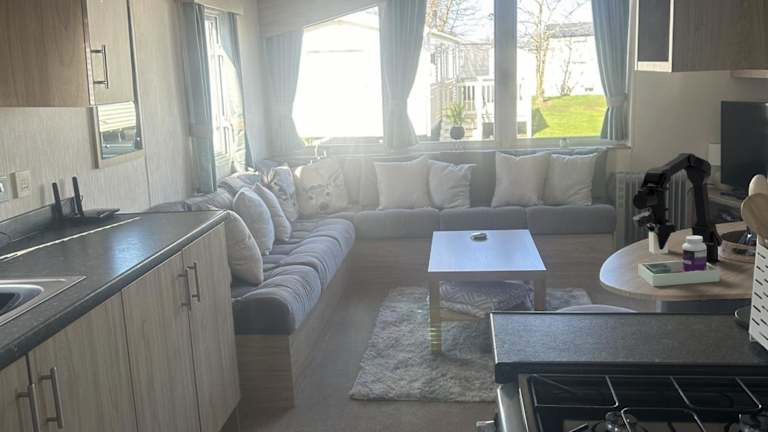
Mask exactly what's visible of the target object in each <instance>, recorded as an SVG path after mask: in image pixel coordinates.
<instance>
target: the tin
mask: <svg viewBox="0 0 768 432" xmlns="http://www.w3.org/2000/svg"><path fill="white" fill-rule="evenodd" d="M646 269H648V270H649V271H650V272H651V273H653V274H654V275H655V274H667V273H672V272H671V267H670V266H668V265H667V264H665V263H658V264H647V265H646Z"/></svg>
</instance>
